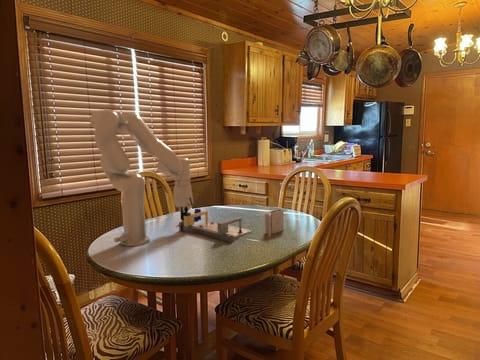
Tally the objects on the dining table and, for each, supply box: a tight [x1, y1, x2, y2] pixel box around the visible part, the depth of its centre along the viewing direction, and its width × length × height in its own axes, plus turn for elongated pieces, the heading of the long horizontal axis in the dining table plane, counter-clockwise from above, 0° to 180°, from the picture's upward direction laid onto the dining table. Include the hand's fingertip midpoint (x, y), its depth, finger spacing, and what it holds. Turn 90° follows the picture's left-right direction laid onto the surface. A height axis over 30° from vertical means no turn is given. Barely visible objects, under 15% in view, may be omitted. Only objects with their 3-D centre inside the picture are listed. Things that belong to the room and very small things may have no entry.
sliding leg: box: [184, 210, 209, 227], centre depth 181 cm, size 15×2×8 cm, turn 139°
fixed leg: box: [216, 217, 243, 235], centre depth 167 cm, size 15×2×7 cm, turn 139°
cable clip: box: [181, 208, 202, 222], centre depth 199 cm, size 12×4×6 cm, turn 145°
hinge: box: [264, 209, 284, 237], centre depth 174 cm, size 14×5×10 cm, turn 143°
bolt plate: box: [195, 221, 253, 239], centre depth 180 cm, size 12×28×1 cm, turn 49°
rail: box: [178, 220, 234, 244], centre depth 171 cm, size 4×33×4 cm, turn 49°
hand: (184, 219), depth 180 cm, fingers closed
